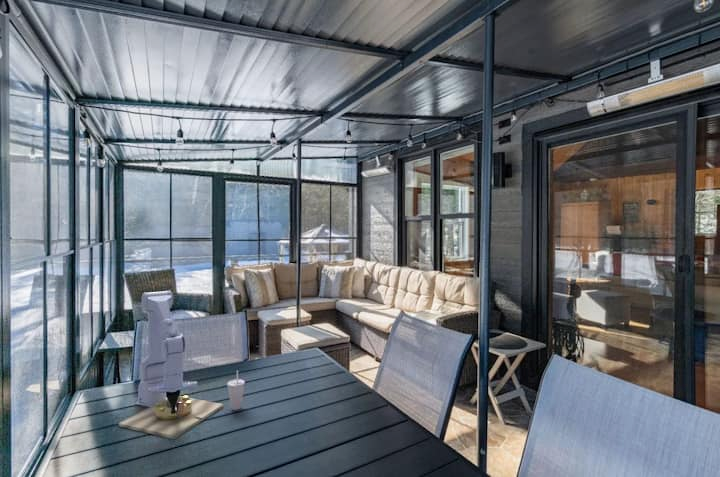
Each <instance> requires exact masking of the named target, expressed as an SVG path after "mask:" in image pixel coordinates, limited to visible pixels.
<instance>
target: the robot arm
mask: <svg viewBox="0 0 720 477" xmlns="http://www.w3.org/2000/svg"><path fill="white" fill-rule="evenodd" d="M173 304H174V295H173V292H172V291H171V290H170V289H169V290H163V291H153V292H143V293H142V294H141V313H143V314H146V315H147V329H148V330H147V332H148V334H147V335H148V337H147V338H148V341H147V342H148V354H147V355H146V356H145V357H144V358H143V359H142V360H141V361H140V367H139V378H140V382H139V384H138V388H137V394H138V395H137V396H138V397H137V402H136V405H137V406H142V407H147V408H149V407H151V406H153V405H155V404H156V403H157V402H162V401H164V400H165V399H168V401H169V402H170V405H171V407H172V409H171V414H175V411H176V407H175V404H176V402H177V399H178V397H179V396H181V391H186V390H197V389H198V381H197V380H196V381H184V353H185V351H186V339H185V337H184V335H183V334H182V333H181V332H180V331H179V327H178V323H177V322H176V321H175V319H172V316H171V315H172V314H171V310H170V309H171V308H172V306H173Z"/></svg>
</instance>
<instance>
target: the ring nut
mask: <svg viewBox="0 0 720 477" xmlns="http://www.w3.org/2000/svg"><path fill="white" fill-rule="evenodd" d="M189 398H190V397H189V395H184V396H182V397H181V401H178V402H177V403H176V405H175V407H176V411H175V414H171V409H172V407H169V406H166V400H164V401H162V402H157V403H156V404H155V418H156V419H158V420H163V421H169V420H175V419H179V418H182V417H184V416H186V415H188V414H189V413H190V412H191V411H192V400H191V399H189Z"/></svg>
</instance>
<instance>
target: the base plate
mask: <svg viewBox="0 0 720 477" xmlns="http://www.w3.org/2000/svg"><path fill="white" fill-rule="evenodd" d="M181 397H183V396H182V395H179V397H178V399H177V402H178V401H181ZM189 399H191V400H192V411H191V412H190V413H189V414H188V415H186V416H184V417H182V418H179V419H175V420H169V421H163V420H158V419H156V418H155V405H153V406H151V407H147V408H145V409H143V410H142V411H140V412H138V413H136V414H133V415H132V416H130V417H127V418H125V419H124V420H123V421H120V422H118V427H121V428H124V429H129V430H133V431H137V432H141V433H146V434H151V435H155V436H160V437H164V438H167V439H173V440H174V439H176V438H178V437H179V436H181V435H182V434H184V433H185V432H187V431H188V430H190V429H191V428H194V427H195V426H197V424H199V423H201V422H202V421H204V420H206V419H207V418H209V417H211V415H213V414H215V413H216V412H218V411H219V410H221V409H222V408H224V404H223V403H219V402H214V401H208V400H203V399H197V398H192V397H189ZM165 400H166V406H169V407H171V405H170V402H169V401H168V399H165ZM177 402H176V403H177ZM175 405H176V404H175Z"/></svg>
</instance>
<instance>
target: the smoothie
mask: <svg viewBox="0 0 720 477" xmlns="http://www.w3.org/2000/svg"><path fill="white" fill-rule="evenodd" d="M245 382H246V381H245V380H244V379H241V378H240V379H239V370H236V379H235V378H234V379H232V380H229V381H228V382H227V383H226V384H227V385H226V386H227V387H226V388H227V389H228V396H229V403H230V405H229V406H230V410H232V411H238V410H240V409H241V408H242V404H243V397H244V389H245V388H244V386H245V385H246V383H245Z"/></svg>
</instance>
